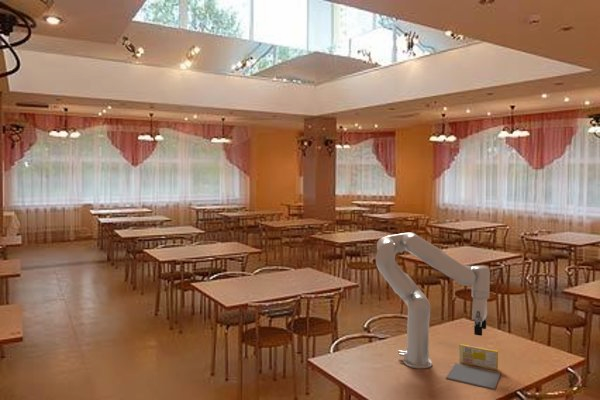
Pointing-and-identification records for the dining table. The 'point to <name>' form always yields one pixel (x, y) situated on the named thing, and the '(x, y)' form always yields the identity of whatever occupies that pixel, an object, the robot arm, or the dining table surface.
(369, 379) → the dining table surface
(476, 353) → the candy box
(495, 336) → the dining table surface
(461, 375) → the mat
